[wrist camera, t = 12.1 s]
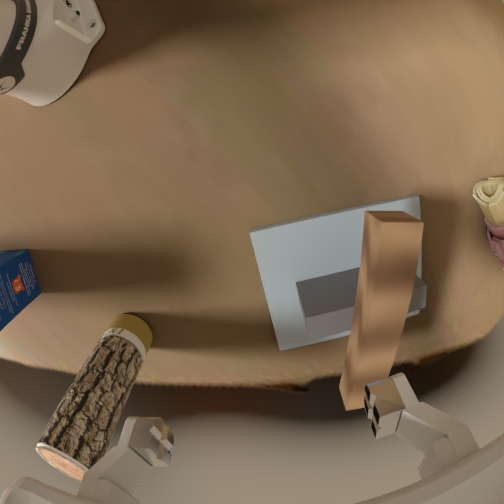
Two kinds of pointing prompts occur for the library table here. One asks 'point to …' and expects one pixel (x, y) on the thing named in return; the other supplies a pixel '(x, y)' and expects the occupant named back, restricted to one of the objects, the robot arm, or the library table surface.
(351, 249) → the ridge stand
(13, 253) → the pasta box
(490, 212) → the scroll
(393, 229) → the light brown wooden bar
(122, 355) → the bark cylinder
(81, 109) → the library table surface
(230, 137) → the library table surface
